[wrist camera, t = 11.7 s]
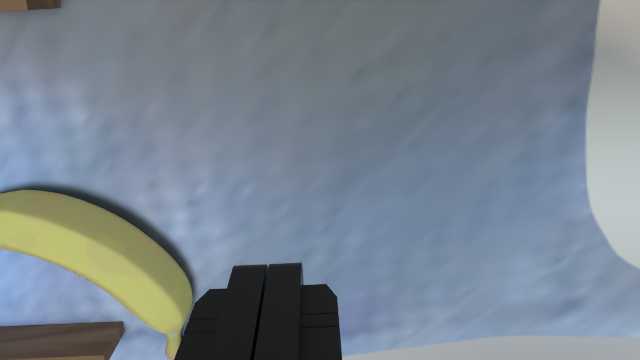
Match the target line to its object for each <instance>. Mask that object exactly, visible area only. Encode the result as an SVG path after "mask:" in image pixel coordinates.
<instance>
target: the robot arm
mask: <svg viewBox="0 0 640 360" xmlns="http://www.w3.org/2000/svg"><path fill="white" fill-rule="evenodd" d="M174 360H342V353H341V340H340V329H339V316H338V303H337V296H336V295H335V294H334V293H333V292H332V290H331V289H330V288H329V287H328V286H327V284H319V285H304V284H303V268H302V263H285V264H269V267H268V266H267V264H264V265H241V266H234V267H233V269H232V273H231V276H230V280H229V283H228V287H227V289H209V290H208V291H207V292H206V293H205V294H204V295H203V296H202V297H201V298H200V299H199V300H198V301H197V302H196V303H195V305H194V307H193V310H192V313H191V315H190V318H189V322H188V323H187V326H186V329H185V331H184V335H183V337H182V339H181V342H180V345H179V347H178V350H177V353H176V355H175V358H174Z"/></svg>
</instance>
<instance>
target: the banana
mask: <svg viewBox="0 0 640 360" xmlns="http://www.w3.org/2000/svg"><path fill="white" fill-rule="evenodd" d="M0 249H4V250H10V251H14V252H19V253H23V254H27V255H31V256H34V257H37V258H40V259H43V260H46V261H49V262H51V263H53V264H56V265H58V266H61V267H63V268H65V269H67V270H69V271H72V272H74V273H76V274H78V275H80V276H82V277H84V278H86V279H87V280H89V281H91V282H92V283H94V284H95V285H97V286H98V287H100V288H101V289H103V290H104V291H106V292H107V293H109V294H110V295H111V296H113V297H114V298H115V299H116V300H117V301H119V302H120V303H121V304H122V305H123V306H124V307H125V308H127V309H128V310H129V311H130V312H131V313H132V314H133V315H135V316H136V317H137V318H138V319H140V320H141V321H143V322H144V323H146V324H147V325H149V326H150V327H152V328H153V329H155V330H157V331H159V332H161V333H165V334H166V336H167V346H166V350H165V353H166V356H167V357H168V358H170V359H171V360H174V358H175V355H176V353H177V350H178V347H179V345H180V342H181V330H182V327H183V325H184V323H185V321H186V319H187V317H188V315H189V312H190V310H191V306H192V301H193V295H192V290H191V286H190V283H189V280H188V278H187V276H186V275H185V273H184V271H183V270H182V269H181V267H180V266H179V265H178V264H177V263H176V261H175V260H174V259H173V258H172V257H171V256H170V255H169V254H168V253H167V252H166V251H165V250H164V249H163V248H162V247H161V246H160V245H158V244H157V243H156V242H155V241H154V240H152V239H151V238H150V237H149V236H147V235H146V234H145V233H143V232H142V231H141V230H139V229H138V228H137V227H135V226H133V225H132V224H130V223H129V222H127V221H126V220H124V219H122V218H120V217H119V216H117V215H115V214H113V213H111V212H109V211H107V210H105V209H103V208H101V207H98V206H96V205H94V204H91V203H88V202H86V201H83V200H80V199H77V198H74V197H71V196H67V195H63V194H58V193H53V192H47V191H38V190H18V191H12V192H7V193H1V194H0Z"/></svg>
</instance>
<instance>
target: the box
mask: <svg viewBox="0 0 640 360" xmlns="http://www.w3.org/2000/svg"><path fill="white" fill-rule="evenodd" d="M51 8H61V7H60V2H59V0H0V11H20V10H37V9H51ZM124 332H125V330H124V325H123V322H102V323H79V324H55V325H32V326H9V327H0V360H109V359H110V357H111V355H112V354H113V352H114V350H115V348H116V346H117V344H118V343H119V341H120V339H121V337H122V335H123V334H124Z"/></svg>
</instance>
